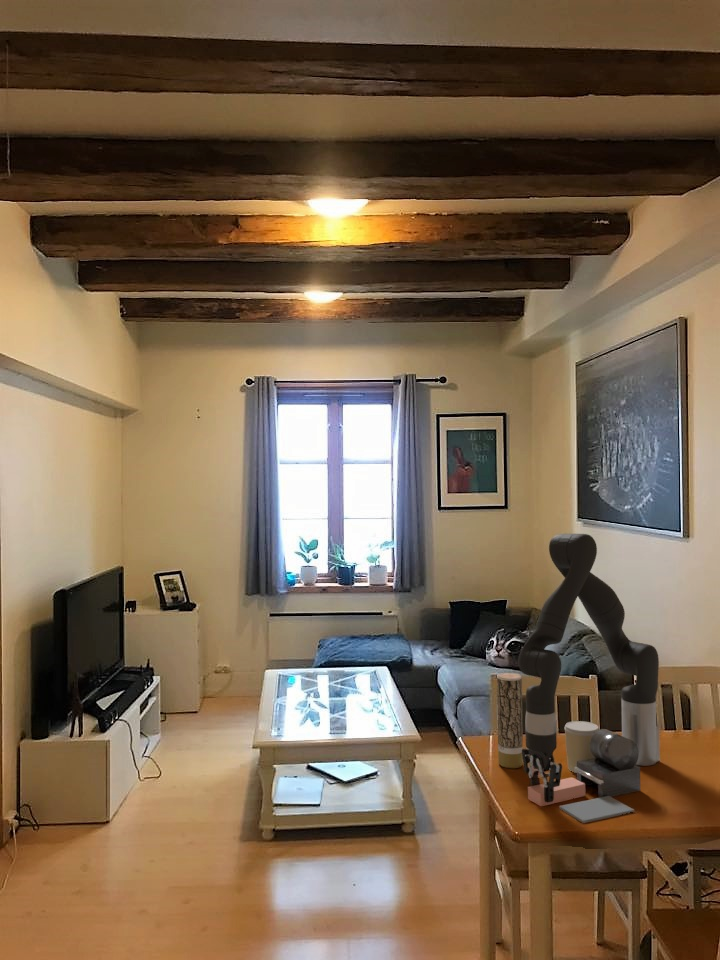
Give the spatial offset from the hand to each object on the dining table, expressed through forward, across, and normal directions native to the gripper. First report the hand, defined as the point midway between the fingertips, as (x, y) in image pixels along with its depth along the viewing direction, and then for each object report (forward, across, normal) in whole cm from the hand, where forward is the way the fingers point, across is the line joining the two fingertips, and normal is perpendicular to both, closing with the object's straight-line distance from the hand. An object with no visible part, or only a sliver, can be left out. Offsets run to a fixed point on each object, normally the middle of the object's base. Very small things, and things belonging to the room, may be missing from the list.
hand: (541, 796), depth 193 cm
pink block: (+1, 0, -5) cm, 5 cm away
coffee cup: (+1, +13, -23) cm, 26 cm away
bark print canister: (+1, +24, -7) cm, 25 cm away
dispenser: (+1, 0, -21) cm, 21 cm away
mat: (+1, -10, -9) cm, 13 cm away
